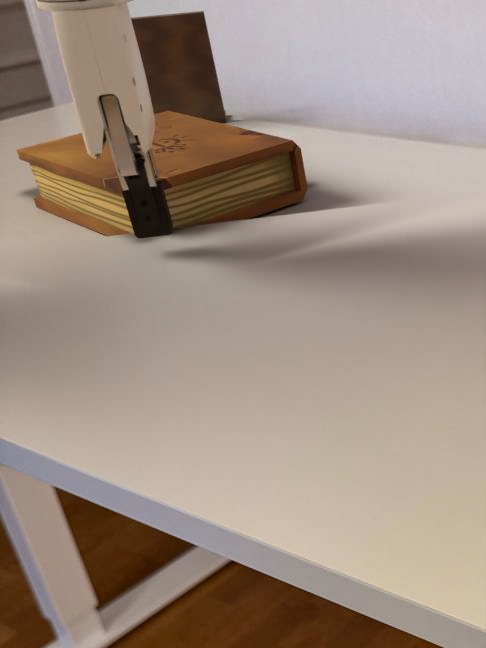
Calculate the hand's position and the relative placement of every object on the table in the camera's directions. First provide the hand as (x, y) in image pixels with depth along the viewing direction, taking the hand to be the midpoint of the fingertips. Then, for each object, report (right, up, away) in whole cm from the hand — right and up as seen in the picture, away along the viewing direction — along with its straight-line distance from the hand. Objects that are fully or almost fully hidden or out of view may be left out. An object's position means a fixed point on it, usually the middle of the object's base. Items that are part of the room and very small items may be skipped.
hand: (155, 233), depth 82 cm
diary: (-4, +10, +16) cm, 19 cm away
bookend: (-12, +32, +40) cm, 52 cm away
